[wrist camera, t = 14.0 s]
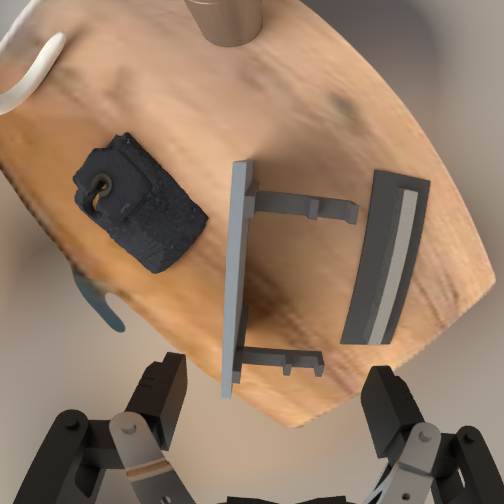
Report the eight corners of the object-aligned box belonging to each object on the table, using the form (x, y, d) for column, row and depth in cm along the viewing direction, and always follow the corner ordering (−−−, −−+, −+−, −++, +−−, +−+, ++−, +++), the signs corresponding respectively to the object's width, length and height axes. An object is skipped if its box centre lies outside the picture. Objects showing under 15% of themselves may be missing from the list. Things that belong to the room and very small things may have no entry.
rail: (396, 187, 40) (404, 189, 37) (409, 189, 40) (417, 192, 37) (363, 335, 48) (367, 345, 45) (375, 335, 48) (380, 345, 45)
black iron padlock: (155, 282, 48) (145, 294, 43) (71, 193, 43) (55, 197, 39) (217, 219, 44) (212, 227, 39) (121, 123, 39) (107, 121, 35)
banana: (81, 40, 34) (31, 17, 20) (24, 122, 38) (-31, 123, 25) (70, 30, 33) (21, 8, 19) (15, 110, 38) (-38, 108, 24)
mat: (374, 169, 40) (375, 169, 39) (428, 180, 39) (430, 181, 39) (340, 342, 49) (340, 344, 49) (388, 342, 49) (389, 344, 48)
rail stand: (245, 160, 40) (233, 161, 25) (332, 169, 40) (370, 177, 25) (233, 331, 49) (221, 397, 34) (306, 336, 49) (318, 403, 34)
